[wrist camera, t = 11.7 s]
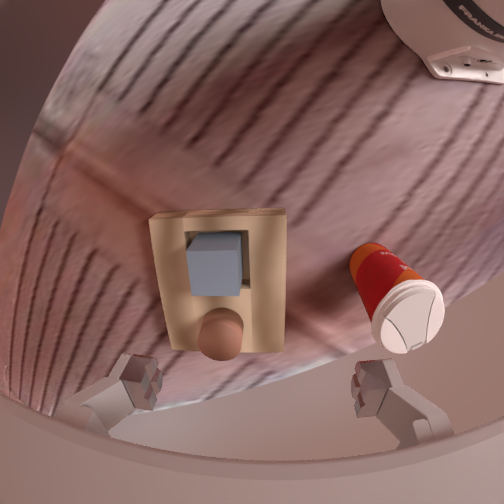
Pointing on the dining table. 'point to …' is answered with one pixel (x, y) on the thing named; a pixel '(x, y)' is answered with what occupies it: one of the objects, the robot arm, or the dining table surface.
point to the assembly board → (223, 307)
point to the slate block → (215, 264)
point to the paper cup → (396, 299)
